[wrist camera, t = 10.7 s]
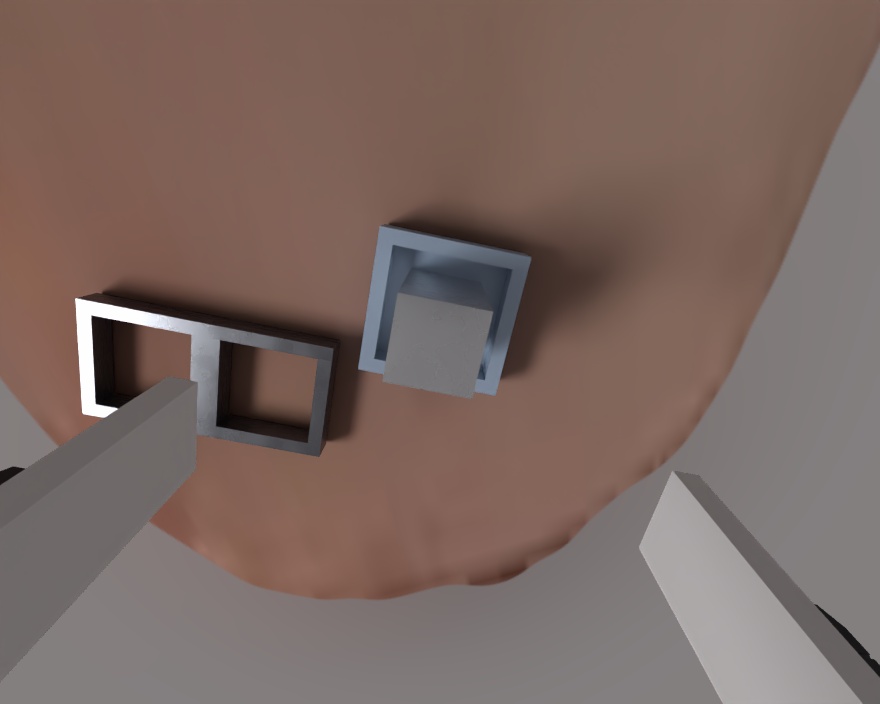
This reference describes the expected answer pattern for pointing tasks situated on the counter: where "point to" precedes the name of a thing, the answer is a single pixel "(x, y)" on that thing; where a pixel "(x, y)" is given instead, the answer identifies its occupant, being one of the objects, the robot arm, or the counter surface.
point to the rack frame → (204, 368)
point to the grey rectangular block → (438, 333)
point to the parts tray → (452, 258)
